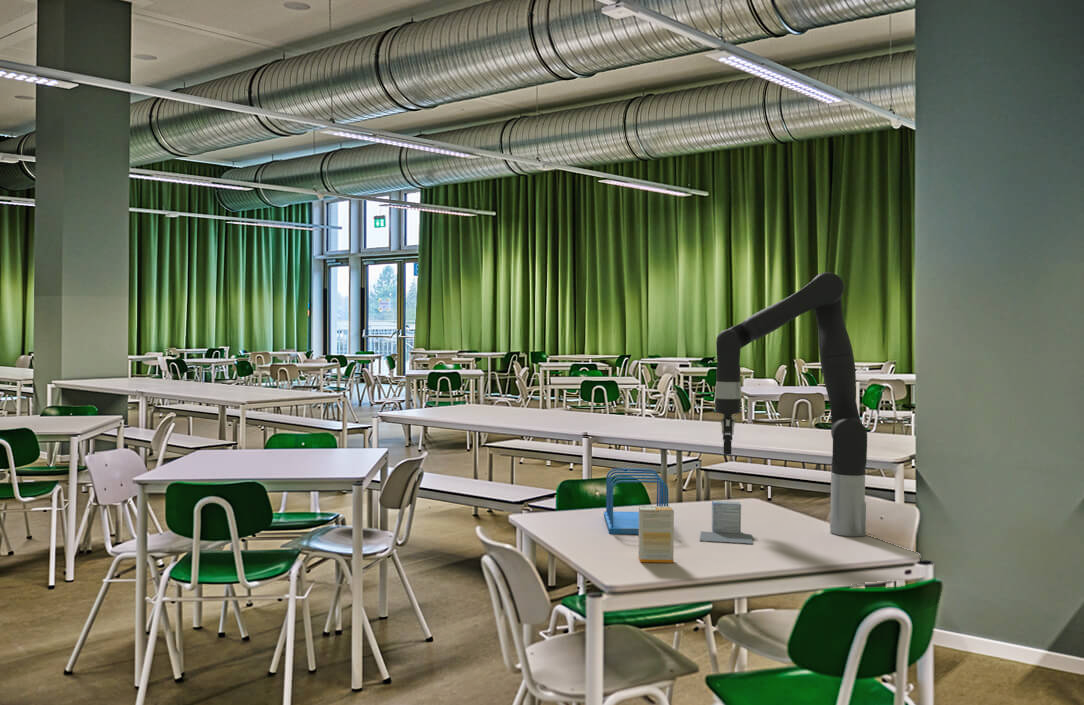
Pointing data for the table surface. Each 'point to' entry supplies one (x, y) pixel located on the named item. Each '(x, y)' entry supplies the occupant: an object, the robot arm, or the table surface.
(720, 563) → the table surface
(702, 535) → the felt mat
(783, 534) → the table surface
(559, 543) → the table surface
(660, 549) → the supplement box
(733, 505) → the medicine box
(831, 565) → the table surface
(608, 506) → the file sorter
